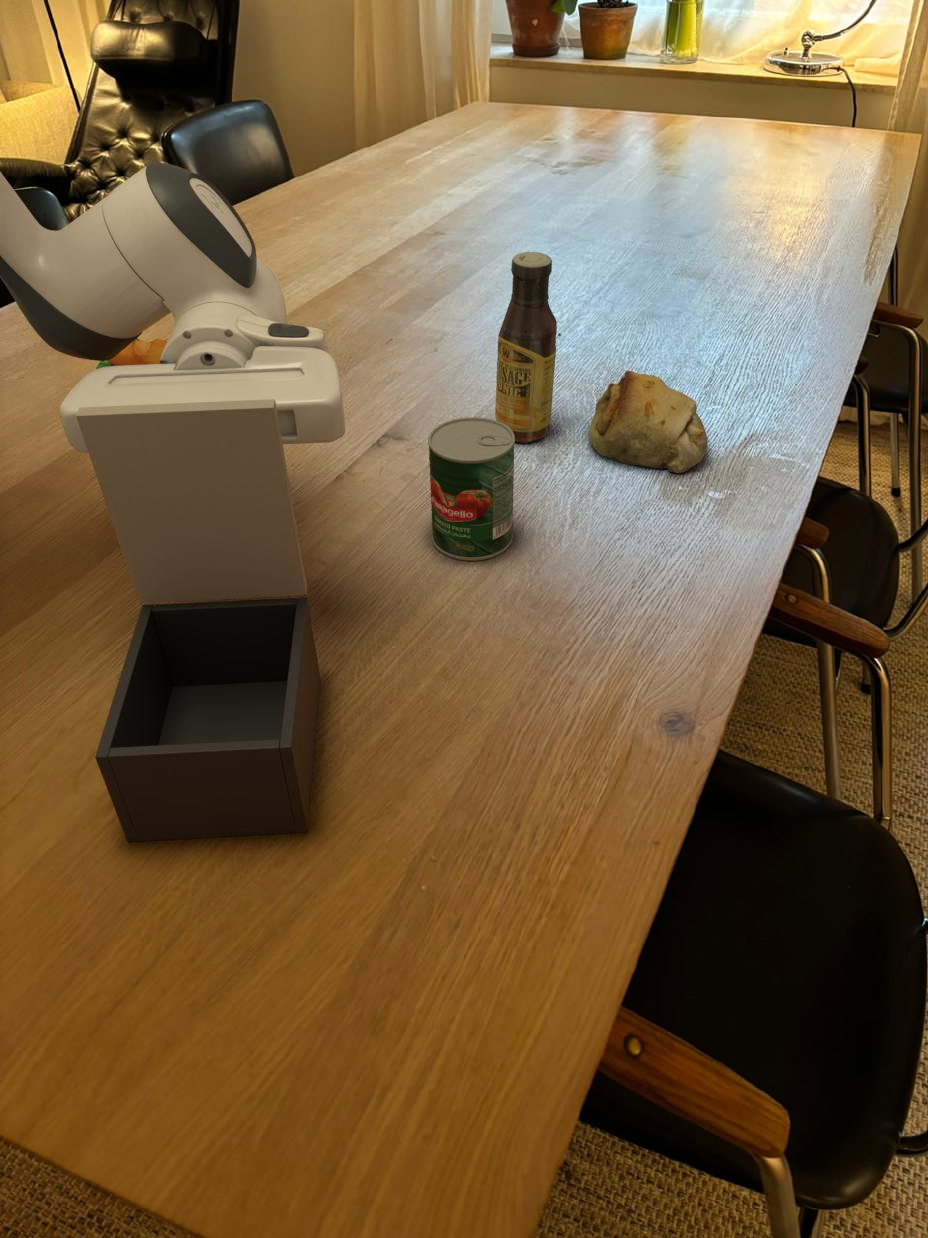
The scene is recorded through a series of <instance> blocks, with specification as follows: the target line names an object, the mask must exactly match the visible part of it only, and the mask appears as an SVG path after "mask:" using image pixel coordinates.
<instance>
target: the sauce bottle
mask: <svg viewBox="0 0 928 1238" xmlns="http://www.w3.org/2000/svg"><path fill="white" fill-rule="evenodd" d="M552 269H553V260H552V257H550V256H549V255H548V254H545V253H543V252H539V251H523V252H519V253H517V254H515V255H514V256H512V259H511V269H510V271H511V274H512V287H511V289H512V290H511V295H510V296H511V298H510V301H509V304H508V306H507V309H506V312H505V315H504V318H503V320H502V324H501V327H500V329H499V332H498V337H497V359H496V360H497V362H496V387H495V388H496V389H495V409H494V410H495V411H494V416H495V420H496V421H498V422H501V423H503V424H505V425H506V426H508V427H509V428H510V429H511V430H512V431H513V433H514V435H515V443H518V444H519V443H520V444H527V443H530V442H535V441H539V440H540V439H542V438H544V437H545V436H546V435H547V434H548V432H549V430H550V423H551V420H552V410H553V409H552V408H553V407H552V406H553V395H554V381H555V380H554V379H555V370H556V355H557V345H556V344H557V343H556V342H557V334H558V331H557V330H558V322H557V321H558V320H557V319H556V316H555V315H554V312H553V310H552V309H551V306H550V304H549V299H550V296H549V284H550V276H551V275H552Z"/></svg>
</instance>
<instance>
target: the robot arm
mask: <svg viewBox="0 0 928 1238" xmlns="http://www.w3.org/2000/svg"><path fill="white" fill-rule="evenodd" d="M0 279H1V281H2V282H3V284H4V285H5V287H6V288H7V290H8V292H9V293H10V296H12V298H13V300H14V301H15V303H16V305H17V306H18V308H19V309H20V311H21V313H22V314H23V316H24V318H25V319H26V321H27V322H28V323H29V325H30V326H31V328H32V329H33V330H34V331H35V333H36V334H37V335H38V336H39V337H40V339H42V340H43V342H45V343H46V344H47V345H48V346H49V347H51V348H52V349H53V350H55V351H57V352H59V353H62V354H64V355H67V356H70V357H74V358H78V359H82V360H88V361H96V362H100V361H105V362H108V360H111V359H113V358H114V357H115V356H116V355H118V354H119V353H120V352H121V351H122V350H123V349H125V348H126V347H127V346H128V345H129V344H131V343H132V342H133V341H134V340H135V339H139V337H140V336H141V335H142V334H143V332H144V331H146V330H148V329H149V328H150V327H152V326H153V325H155V324H157V323H158V322H160V321H161V320H162V319H164V318H166V317H167V316H168V315H170V314H171V315H172V316H173V319H174V320H173V321H174V322H173V326H172V328H171V331H170V333H169V335H168V338H167V340H166V341H167V343H166V345H165V348H164V350H163V353H162V355H161V358H160V363H159V364H148V365H123V366H108V367H102V368H98V369H96V368H95V369H93V370H91V371H89V372H87V374H85V375H84V376H83V377H82V378H81V379H80V380H78V382H77V383H76V384H74V386H73V387H72V389H70V390H69V392H68V393H67V395H66V396H65V397H64V399H63V400H62V402H61V404H60V406H59V415H60V420H61V424H62V427H63V431H64V434H65V437H66V440H67V441H68V442H67V443H69V445H70V446H71V447H72V448H73V449H74V450H75V451H77V452H79V453H82V454H83V453H88V450H87V447H86V444H85V441H84V438H83V435H82V432H81V429H80V426H79V423H78V420H77V417H76V414H77V412H78V410H79V408H80V407H103V406H127V405H150V404H174V403H197V402H221V401H244V400H268V399H275V403H276V409H277V415H278V420H279V426H280V432H281V438H282V444H283V445H297V444H299V445H301V444H327V443H333V442H336V441H337V440H339V439H341V438H342V437H344V435H345V434H346V422H345V421H346V420H345V410H344V400H343V392H342V385H341V384H342V383H341V377H340V373H339V369H338V366H337V363H336V360H335V358H334V357H333V356H332V355H331V354H330V352H329V348H328V344H327V339H326V336H325V332H324V331H323V329H320V328H318V327H313V326H305V325H297V324H296V325H295V324H290V323H287V307H286V301H285V300H286V299H285V296H284V293H283V289H282V287H281V284H280V282H279V279H278V278H277V276H276V274H275V273H274V272H273V270H272V269H271V268H270V266H269V265H268V264H267V263H266V262H265V261H264V260H263V259H261V258H260V257H258V256H257V249H256V245H255V241H254V239H253V237H252V235H251V233H250V231H249V229H248V228H247V226H246V225H245V223H244V221H243V219H242V218H241V216H240V215H239V213H238V212H237V211H236V209H235V208H234V206H233V204H231V202H230V201H229V200H228V199H227V197H226V196H225V195H224V194H223V193H222V191H220V190H219V189H218V187H216V186H215V185H214V183H212V182H211V181H209V180H208V179H207V178H205V177H204V176H202V175H200V174H197V173H195V172H193V171H191V170H188V169H186V168H183V167H181V166H177V165H174V164H171V163H165V162H158V161H157V162H156V161H155V162H150V163H148V164H147V165H146V166H144V167H143V168H141V169H140V170H138V171H137V172H136V173H134V174H133V175H132V176H130V177H129V178H127V179H126V180H125V181H123V182H122V183H120V184H119V185H117V186H116V187H115V188H113V189H112V190H111V191H110V192H107V194H106V195H105V196H104V197H103V198H102V199H101V200H99V201H98V202H97V203H96V204H94V205H93V206H91V207H90V208H89V209H87V210H86V211H85V212H83V213H82V214H81V215H79V216H78V217H77V218H75V219H74V220H72V221H71V222H70V223H68V224H67V225H65V226H64V227H63V228H61V229H59V230H51V229H47V228H45V227H43V226H42V225H41V224H40V223H39V222H38V221H37V219H36V218H35V217H34V216H33V214H32V213H31V211H30V210H29V209H28V207H27V206H26V204H25V203H24V202H23V200H22V199H21V198H20V196H19V195H18V193H17V192H16V191H15V190H14V188H13V187H12V185H11V184H10V182H9V181H8V180H7V179H6V177H5V176H4V175H3V173H2V171H0ZM88 454H89V453H88Z"/></svg>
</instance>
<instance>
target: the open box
mask: <svg viewBox="0 0 928 1238" xmlns="http://www.w3.org/2000/svg"><path fill="white" fill-rule="evenodd" d="M319 668H320V667H319V661H318V655H317V649H316V641H315V635H314V629H313V623H312V616H311V610H310V604H309V598H308V597H307V596H298V597H281V598H279V597H278V598H276V597H275V598H261V599H260V598H258V599H257V598H256V599H238V600H237V599H234V600H219V601H218V600H217V601H216V600H215V601H195V602H193V601H192V602H176V603H175V602H173V603H158V604H156V603H155V604H153V603H152V604H151V603H150V604H149V603H147V604H142V605H141V607H140V612H139V614H138V617H137V621H136V624H135V628H134V630H133V634H132V637H131V640H130V643H129V647H128V650H127V653H126V657H125V660H124V663H123V666H122V669H121V673H120V675H119V679H118V682H117V684H116V685H117V686H116V689H115V692H114V695H113V699H112V702H111V704H110V708H109V711H108V714H107V717H106V721H105V724H104V727H103V729H102V732H101V733H102V734H101V738H100V740H99V744H98V747H97V750H96V753H95V756H94V758H95V761H96V763H97V766H98V768H99V769H98V770H99V771H100V774H101V777H102V779H103V781H104V784H105V787H106V789H107V792H108V795H109V798H110V800H111V803H112V805H113V808H114V811H115V813H116V816H117V819H118V821H119V823H120V826H121V829H122V831H123V834H124V837H125V839H126V842H128V843H132V842H133V843H134V842H135V843H136V842H152V841H153V842H154V841H170V840H188V839H191V840H192V839H203V838H204V839H205V838H206V839H208V838H224V837H245V836H261V835H262V836H263V835H280V834H282V835H283V834H296V833H297V834H298V833H300V834H301V833H308V831H309V821H310V812H311V811H310V810H311V797H312V788H313V787H312V785H313V775H314V774H313V773H314V762H315V750H316V738H317V727H318V715H319V702H320V691H321V673H320V669H319Z"/></svg>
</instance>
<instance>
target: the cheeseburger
mask: <svg viewBox="0 0 928 1238" xmlns="http://www.w3.org/2000/svg"><path fill="white" fill-rule="evenodd" d="M167 341H168V340H165V339H161V338H155V339H153V340H152V341H144V340H140V338H137V339H135V340H134V341H133V342H132V343H131V344H129V345H128V346H127V347H126V348H125V349H123V350H122V351H121V352H120V353H119V354H118V355H116V356H115V357H114V358H113V359H111V360H108V361H98V362H99V363H97V366H96V367H95V369H98V368H102V367H108V366H123V365H148V364H159V363H160V358H161V355H162V353H163V350H164V348H165V345H166V343H167Z"/></svg>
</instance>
